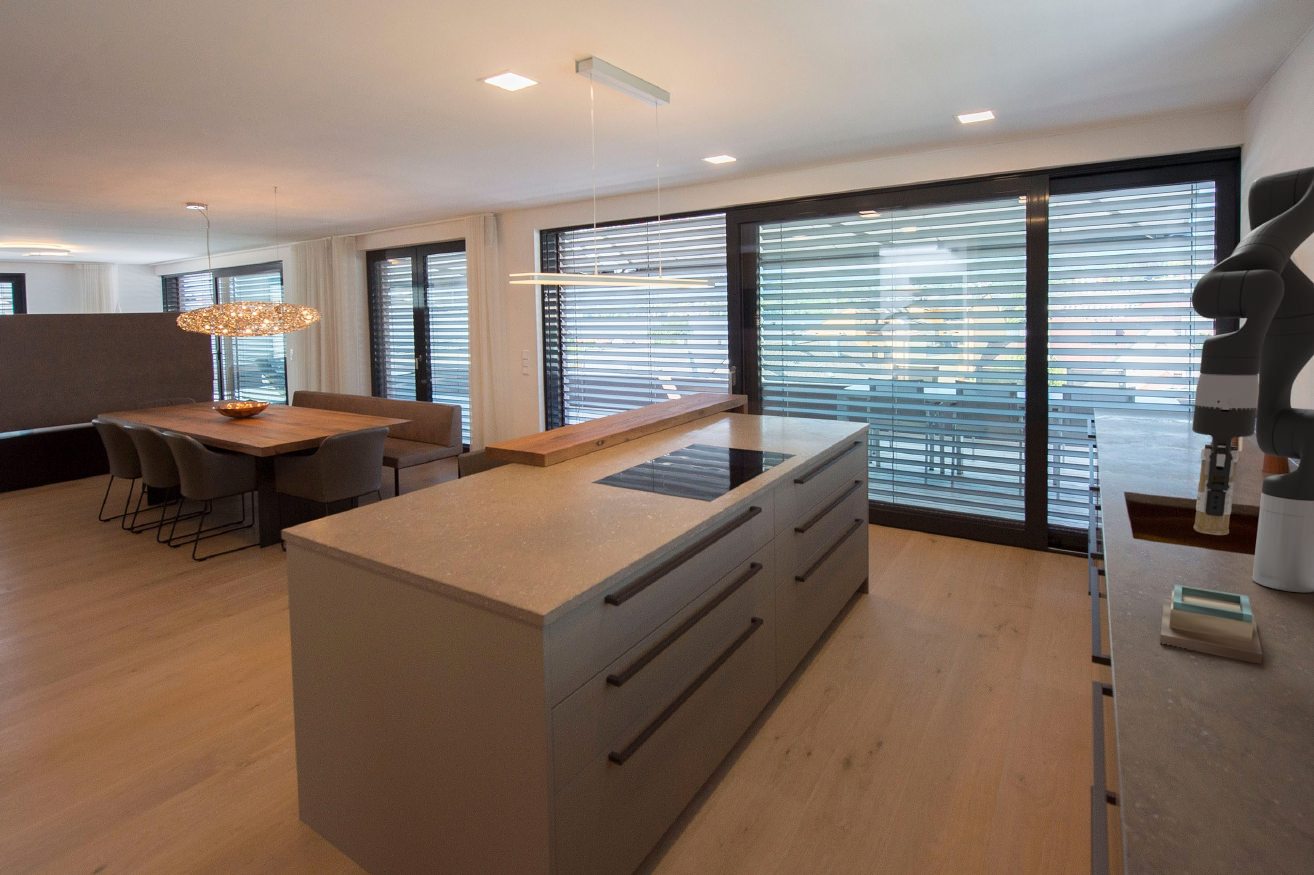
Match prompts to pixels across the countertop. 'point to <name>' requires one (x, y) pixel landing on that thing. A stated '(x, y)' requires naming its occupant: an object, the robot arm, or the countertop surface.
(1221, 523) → the sprinkles bottle
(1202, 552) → the countertop surface
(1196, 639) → the build board
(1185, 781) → the countertop surface
